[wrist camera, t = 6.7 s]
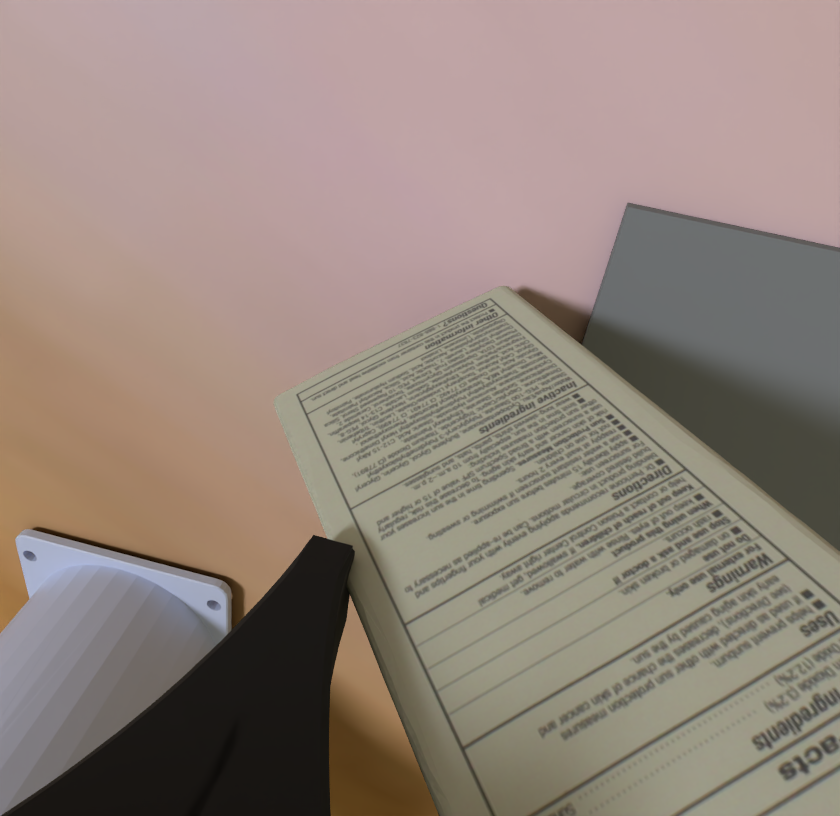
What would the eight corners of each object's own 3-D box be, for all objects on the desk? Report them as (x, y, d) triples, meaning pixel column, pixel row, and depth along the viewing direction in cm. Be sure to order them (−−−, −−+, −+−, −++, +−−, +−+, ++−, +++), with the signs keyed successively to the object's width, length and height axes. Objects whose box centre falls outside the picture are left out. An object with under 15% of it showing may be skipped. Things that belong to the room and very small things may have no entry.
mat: (985, 671, 21) (990, 680, 20) (514, 552, 22) (512, 559, 22) (1311, 348, 14) (1323, 355, 14) (627, 202, 15) (628, 206, 15)
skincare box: (336, 515, 18) (588, 1135, 9) (262, 387, 16) (516, 1087, 6) (548, 408, 19) (991, 878, 10) (514, 266, 16) (1087, 732, 7)
